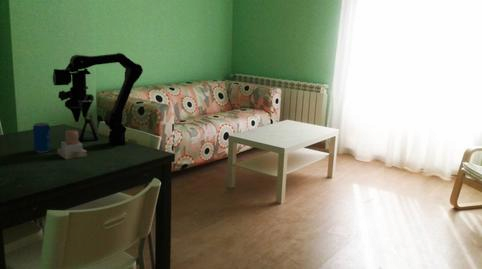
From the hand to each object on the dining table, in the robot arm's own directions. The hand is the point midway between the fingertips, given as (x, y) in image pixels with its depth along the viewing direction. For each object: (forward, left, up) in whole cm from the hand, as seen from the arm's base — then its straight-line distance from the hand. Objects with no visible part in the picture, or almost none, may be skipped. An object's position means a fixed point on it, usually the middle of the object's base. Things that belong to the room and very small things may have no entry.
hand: (80, 119), depth 197 cm
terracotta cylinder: (+8, +8, -8) cm, 14 cm away
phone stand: (-9, -13, -13) cm, 20 cm away
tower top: (+8, +8, -11) cm, 16 cm away
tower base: (+8, +8, -14) cm, 18 cm away
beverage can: (+16, -4, -13) cm, 21 cm away
